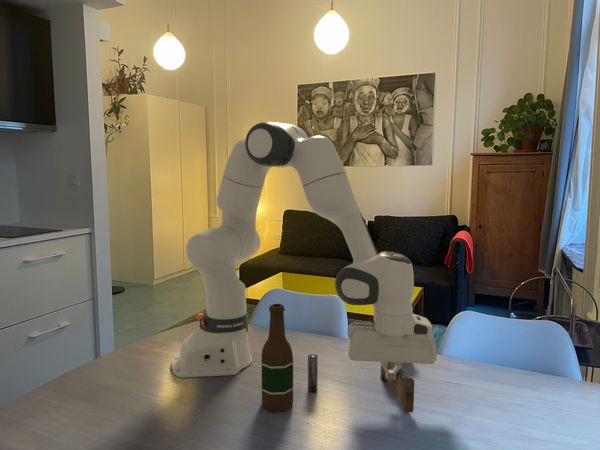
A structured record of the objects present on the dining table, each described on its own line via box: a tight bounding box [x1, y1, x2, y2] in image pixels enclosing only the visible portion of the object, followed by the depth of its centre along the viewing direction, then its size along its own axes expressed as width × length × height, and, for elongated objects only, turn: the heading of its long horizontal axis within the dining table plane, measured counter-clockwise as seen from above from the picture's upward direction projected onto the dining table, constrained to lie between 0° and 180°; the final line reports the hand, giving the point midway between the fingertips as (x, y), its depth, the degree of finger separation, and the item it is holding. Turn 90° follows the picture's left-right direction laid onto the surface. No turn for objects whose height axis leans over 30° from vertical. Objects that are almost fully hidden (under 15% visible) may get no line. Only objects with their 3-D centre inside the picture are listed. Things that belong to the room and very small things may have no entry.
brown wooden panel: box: [387, 362, 415, 413], centre depth 110 cm, size 17×2×7 cm, turn 4°
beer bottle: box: [261, 303, 294, 414], centre depth 106 cm, size 8×8×24 cm
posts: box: [307, 353, 388, 394], centre depth 117 cm, size 24×3×10 cm, turn 108°
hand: (390, 378), depth 108 cm, fingers closed
